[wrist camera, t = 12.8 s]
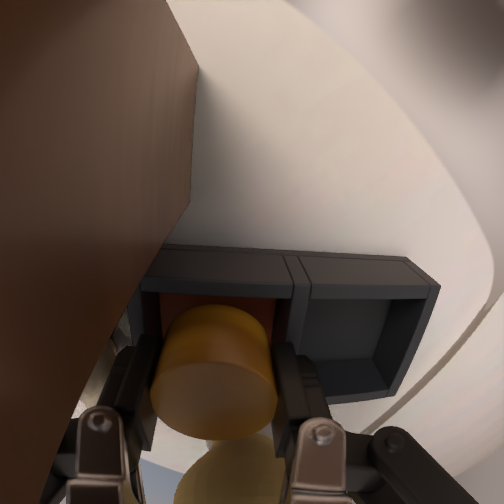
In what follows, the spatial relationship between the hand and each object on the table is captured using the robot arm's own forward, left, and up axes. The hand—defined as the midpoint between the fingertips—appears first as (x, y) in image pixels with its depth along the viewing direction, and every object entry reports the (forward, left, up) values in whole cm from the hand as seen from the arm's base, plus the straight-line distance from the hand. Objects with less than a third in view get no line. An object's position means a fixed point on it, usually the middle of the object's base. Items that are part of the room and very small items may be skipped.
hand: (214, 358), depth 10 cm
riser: (-4, +8, -3) cm, 9 cm away
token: (0, 0, -1) cm, 1 cm away
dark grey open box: (+3, 0, -3) cm, 4 cm away
